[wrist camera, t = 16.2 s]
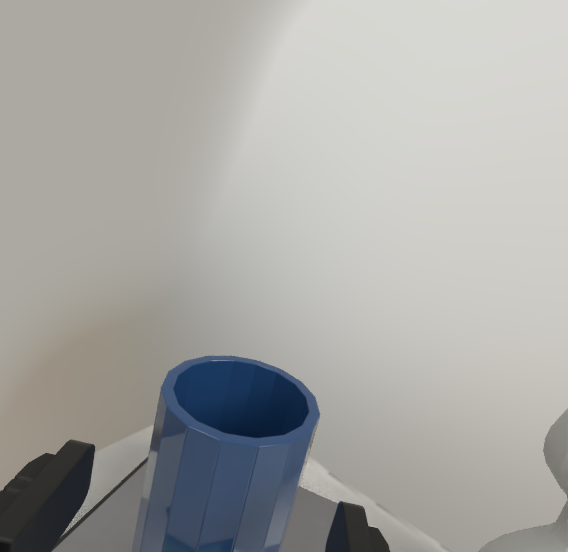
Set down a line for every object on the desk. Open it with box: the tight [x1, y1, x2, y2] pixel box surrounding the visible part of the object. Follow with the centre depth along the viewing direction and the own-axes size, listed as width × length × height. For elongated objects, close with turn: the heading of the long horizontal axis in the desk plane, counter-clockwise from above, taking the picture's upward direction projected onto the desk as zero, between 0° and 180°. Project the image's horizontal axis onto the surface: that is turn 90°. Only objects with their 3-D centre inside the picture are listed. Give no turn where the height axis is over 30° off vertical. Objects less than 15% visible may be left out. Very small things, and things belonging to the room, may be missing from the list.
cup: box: [132, 356, 320, 552], centre depth 18 cm, size 7×7×9 cm
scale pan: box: [52, 461, 338, 552], centre depth 20 cm, size 12×12×1 cm
